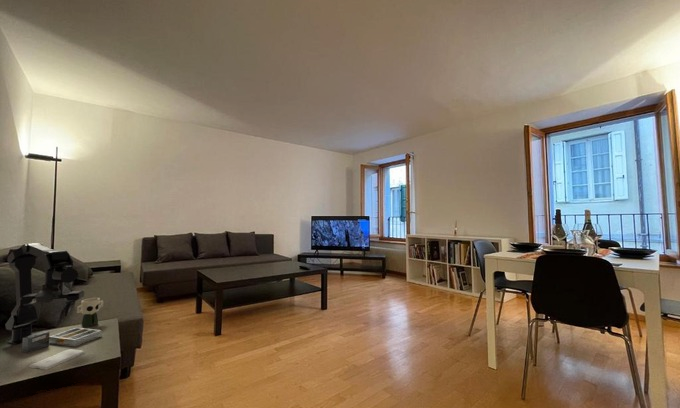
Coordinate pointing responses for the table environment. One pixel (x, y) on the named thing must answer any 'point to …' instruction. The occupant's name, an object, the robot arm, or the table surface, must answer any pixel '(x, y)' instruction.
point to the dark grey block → (35, 342)
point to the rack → (74, 336)
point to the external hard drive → (56, 359)
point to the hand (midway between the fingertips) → (52, 317)
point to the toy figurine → (90, 311)
